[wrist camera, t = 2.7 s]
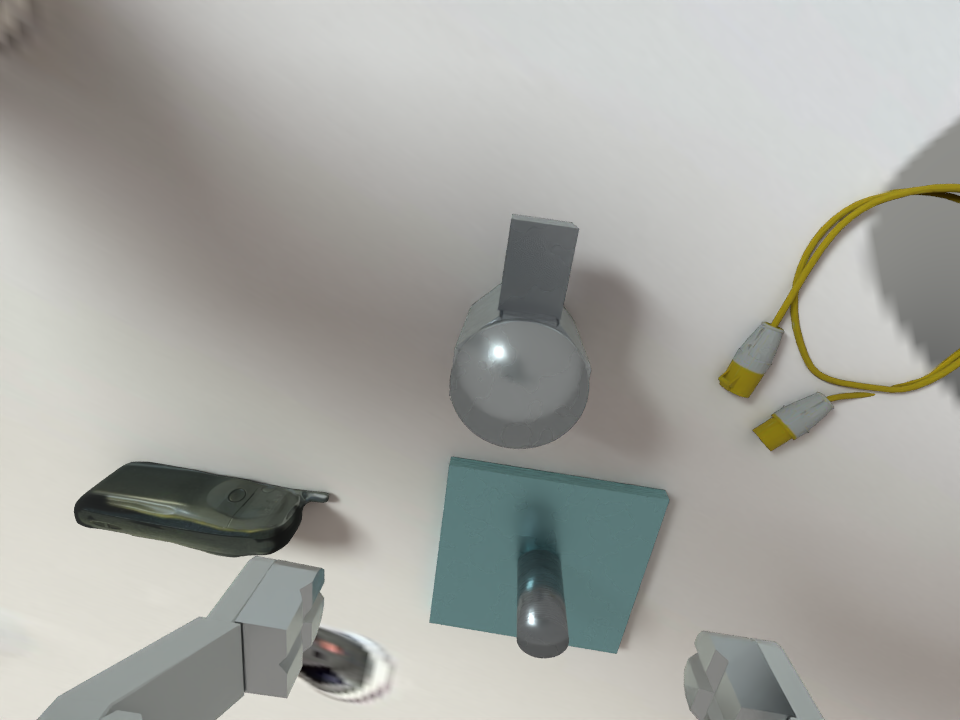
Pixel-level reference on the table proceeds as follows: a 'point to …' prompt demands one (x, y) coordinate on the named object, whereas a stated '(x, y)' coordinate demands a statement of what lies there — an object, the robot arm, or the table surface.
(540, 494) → the flat teal square plate
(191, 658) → the robot arm
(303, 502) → the mobile phone
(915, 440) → the table surface
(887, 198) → the yellow thin looped cord
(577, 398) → the tabbed metal cylinder
